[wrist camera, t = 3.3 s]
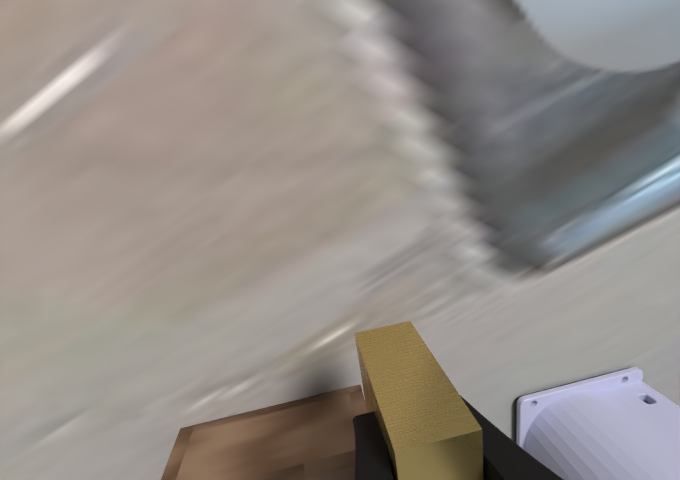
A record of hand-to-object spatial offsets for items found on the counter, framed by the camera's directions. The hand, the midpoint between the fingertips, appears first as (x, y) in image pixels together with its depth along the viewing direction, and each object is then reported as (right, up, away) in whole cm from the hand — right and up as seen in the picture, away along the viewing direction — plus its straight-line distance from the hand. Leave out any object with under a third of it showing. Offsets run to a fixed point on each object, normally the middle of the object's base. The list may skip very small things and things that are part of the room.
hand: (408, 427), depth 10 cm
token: (0, 0, +2) cm, 2 cm away
